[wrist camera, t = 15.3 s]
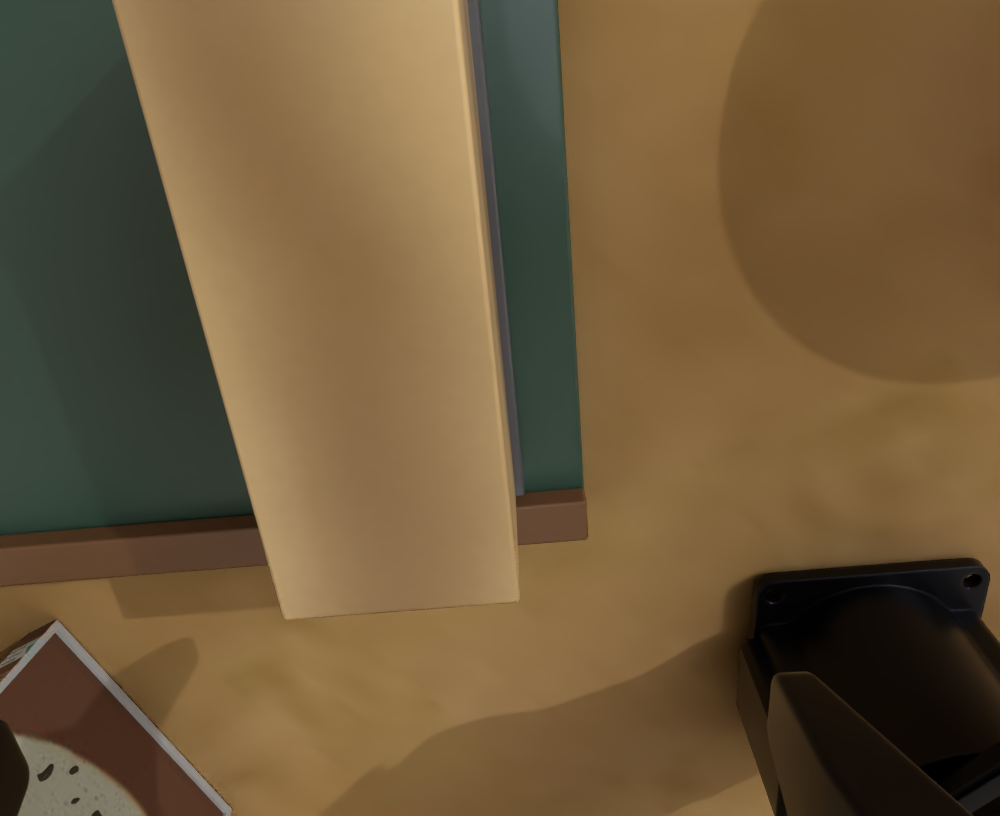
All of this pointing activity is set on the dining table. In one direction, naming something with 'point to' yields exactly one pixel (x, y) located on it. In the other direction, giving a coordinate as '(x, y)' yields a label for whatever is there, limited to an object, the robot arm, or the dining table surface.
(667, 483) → the dining table surface
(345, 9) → the eraser
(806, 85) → the dining table surface
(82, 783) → the food container
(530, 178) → the slate board
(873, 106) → the dining table surface
